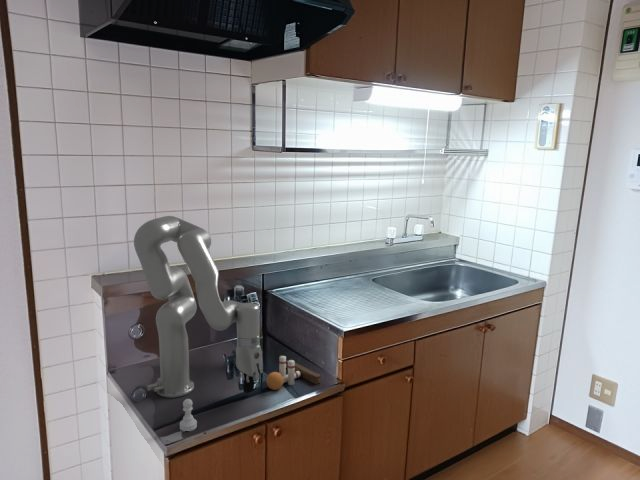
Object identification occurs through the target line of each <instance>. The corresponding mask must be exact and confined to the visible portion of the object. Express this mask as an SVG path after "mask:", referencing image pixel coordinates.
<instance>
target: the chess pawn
mask: <svg viewBox="0 0 640 480" xmlns="http://www.w3.org/2000/svg"><path fill="white" fill-rule="evenodd" d="M193 404H194V403H193V400H192V399H191V398H185V399H184V400H183V402H182V407H183V408H182V411H183V412H184V415H183V417H182V420H181V421H180V422H179V429H180V431H182V432H185V431H189V432H192V431H194V430H196V429H197V427H198V425H197V424H198V421H197V419H195V418H194V416H193V414H192V410H194V407H193Z"/></svg>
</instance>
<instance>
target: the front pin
mask: <svg viewBox="0 0 640 480" xmlns="http://www.w3.org/2000/svg"><path fill="white" fill-rule="evenodd" d="M298 378H302V377H301V373H300V371H296V372H294V380H296V379H298ZM283 380H284V381H283V384H286V383H288V374H286V375H285V376H283Z"/></svg>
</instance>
